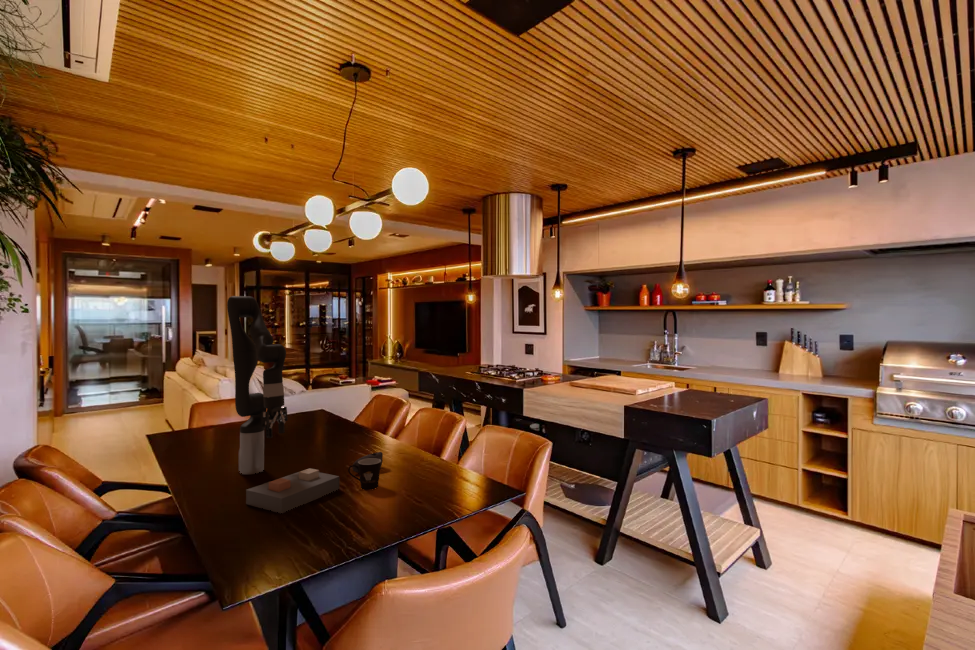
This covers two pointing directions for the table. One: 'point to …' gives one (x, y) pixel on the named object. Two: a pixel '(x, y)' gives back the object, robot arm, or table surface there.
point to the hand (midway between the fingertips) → (275, 435)
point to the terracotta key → (279, 484)
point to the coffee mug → (368, 473)
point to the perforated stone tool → (374, 455)
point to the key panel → (292, 492)
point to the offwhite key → (308, 474)
